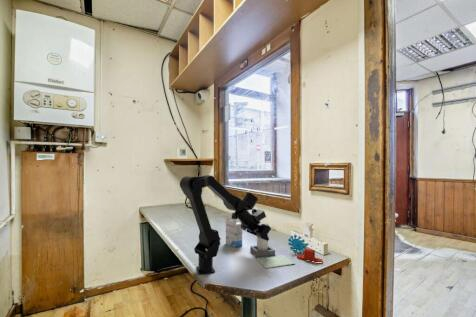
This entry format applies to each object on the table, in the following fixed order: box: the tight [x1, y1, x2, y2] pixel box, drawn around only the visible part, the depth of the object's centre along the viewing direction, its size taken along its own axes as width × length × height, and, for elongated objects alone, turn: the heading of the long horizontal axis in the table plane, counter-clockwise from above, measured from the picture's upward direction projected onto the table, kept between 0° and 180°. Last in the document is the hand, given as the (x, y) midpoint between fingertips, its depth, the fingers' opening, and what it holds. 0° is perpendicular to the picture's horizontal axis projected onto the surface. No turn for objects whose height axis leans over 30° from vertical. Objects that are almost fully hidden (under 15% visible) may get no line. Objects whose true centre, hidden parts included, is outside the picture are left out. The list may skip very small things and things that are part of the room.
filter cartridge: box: [256, 222, 269, 251], centre depth 114 cm, size 6×6×14 cm
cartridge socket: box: [249, 245, 276, 259], centre depth 114 cm, size 9×9×2 cm
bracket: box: [296, 247, 324, 263], centre depth 107 cm, size 12×4×5 cm, turn 56°
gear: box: [287, 234, 309, 255], centre depth 118 cm, size 11×6×10 cm
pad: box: [255, 254, 296, 269], centre depth 104 cm, size 10×14×1 cm
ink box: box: [225, 216, 243, 248], centre depth 127 cm, size 9×5×15 cm, turn 45°
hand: (264, 238), depth 115 cm, fingers closed on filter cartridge, 5 cm apart
